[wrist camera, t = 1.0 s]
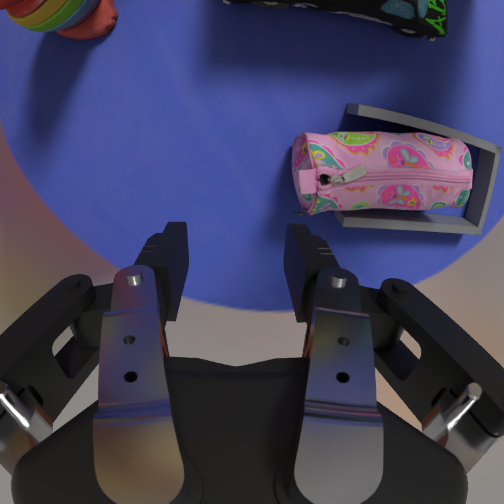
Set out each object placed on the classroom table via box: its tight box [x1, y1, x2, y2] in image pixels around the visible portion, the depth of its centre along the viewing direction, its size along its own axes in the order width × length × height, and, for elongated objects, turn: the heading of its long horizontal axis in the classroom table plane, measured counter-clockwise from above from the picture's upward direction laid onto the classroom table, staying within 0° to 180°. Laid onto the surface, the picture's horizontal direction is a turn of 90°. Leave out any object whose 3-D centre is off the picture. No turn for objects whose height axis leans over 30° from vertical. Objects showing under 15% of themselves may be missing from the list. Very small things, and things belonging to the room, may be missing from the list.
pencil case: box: [292, 132, 473, 215], centre depth 28 cm, size 21×9×9 cm, turn 94°
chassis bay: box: [334, 103, 501, 235], centre depth 31 cm, size 14×24×4 cm, turn 88°
